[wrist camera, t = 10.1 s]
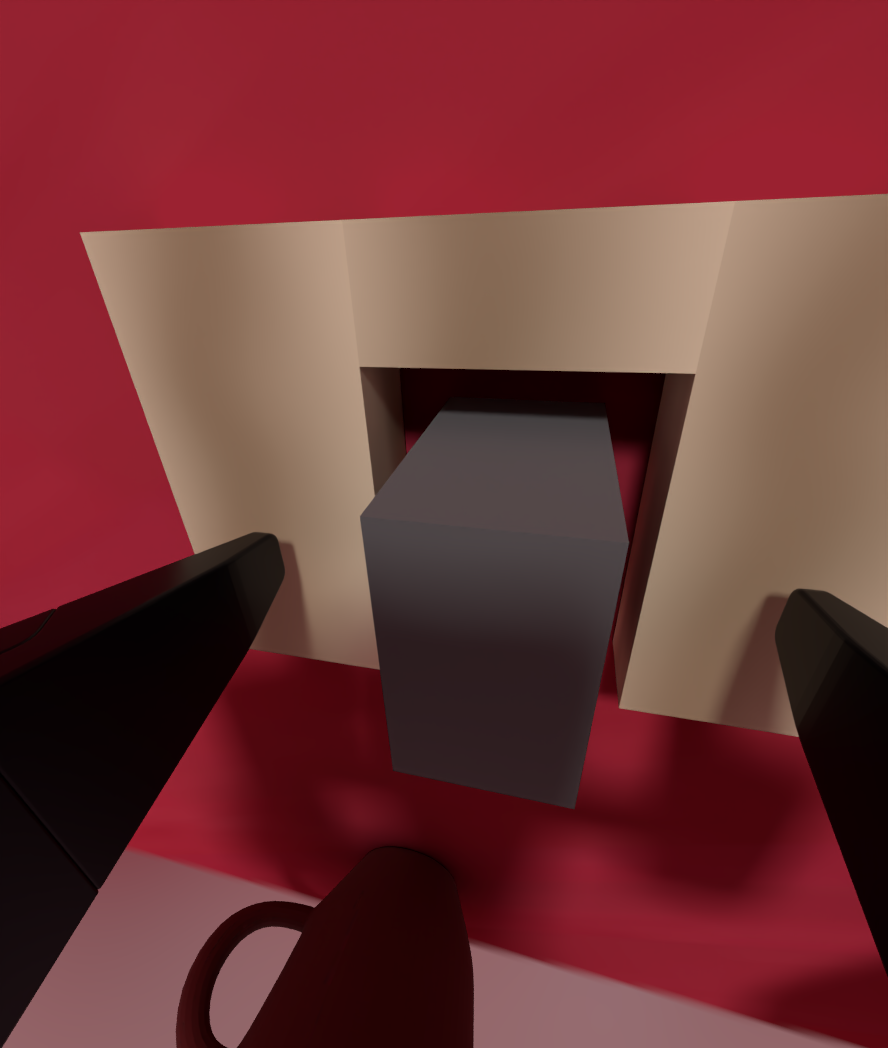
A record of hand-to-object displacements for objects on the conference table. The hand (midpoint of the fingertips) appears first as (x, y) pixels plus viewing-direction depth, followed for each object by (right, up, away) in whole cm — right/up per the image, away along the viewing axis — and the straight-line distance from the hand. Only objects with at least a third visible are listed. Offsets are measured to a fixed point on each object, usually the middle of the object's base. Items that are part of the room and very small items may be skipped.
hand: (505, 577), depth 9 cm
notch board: (+1, +2, +2) cm, 3 cm away
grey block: (+1, +1, +2) cm, 3 cm away
